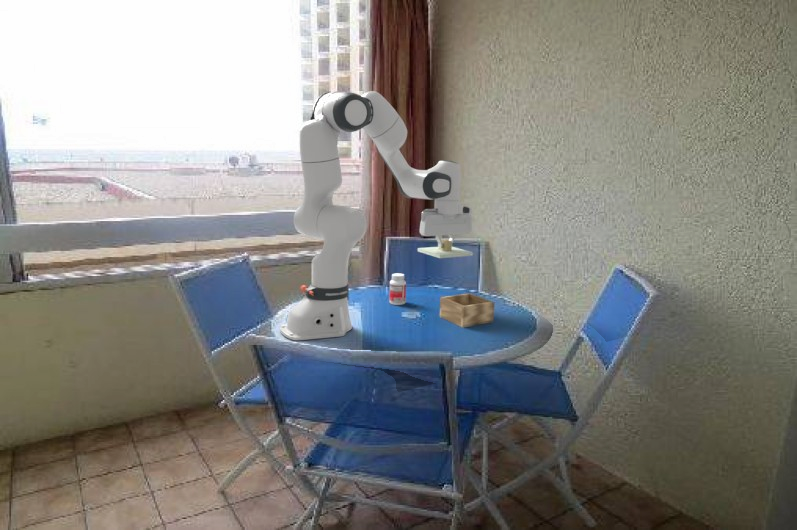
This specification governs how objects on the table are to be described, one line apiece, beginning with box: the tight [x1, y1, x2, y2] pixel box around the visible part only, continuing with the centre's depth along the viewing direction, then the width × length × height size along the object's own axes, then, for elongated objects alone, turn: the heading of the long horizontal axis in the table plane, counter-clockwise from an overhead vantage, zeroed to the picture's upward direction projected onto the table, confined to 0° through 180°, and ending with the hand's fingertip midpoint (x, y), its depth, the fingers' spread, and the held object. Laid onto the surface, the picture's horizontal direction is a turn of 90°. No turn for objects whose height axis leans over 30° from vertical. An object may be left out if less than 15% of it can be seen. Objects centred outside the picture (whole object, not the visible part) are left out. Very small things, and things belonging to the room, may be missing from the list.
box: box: [439, 292, 495, 329], centre depth 174 cm, size 13×13×7 cm
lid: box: [417, 238, 474, 259], centre depth 180 cm, size 14×14×5 cm
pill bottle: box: [388, 272, 407, 306], centre depth 191 cm, size 6×6×11 cm
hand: (445, 247), depth 180 cm, fingers closed on lid
